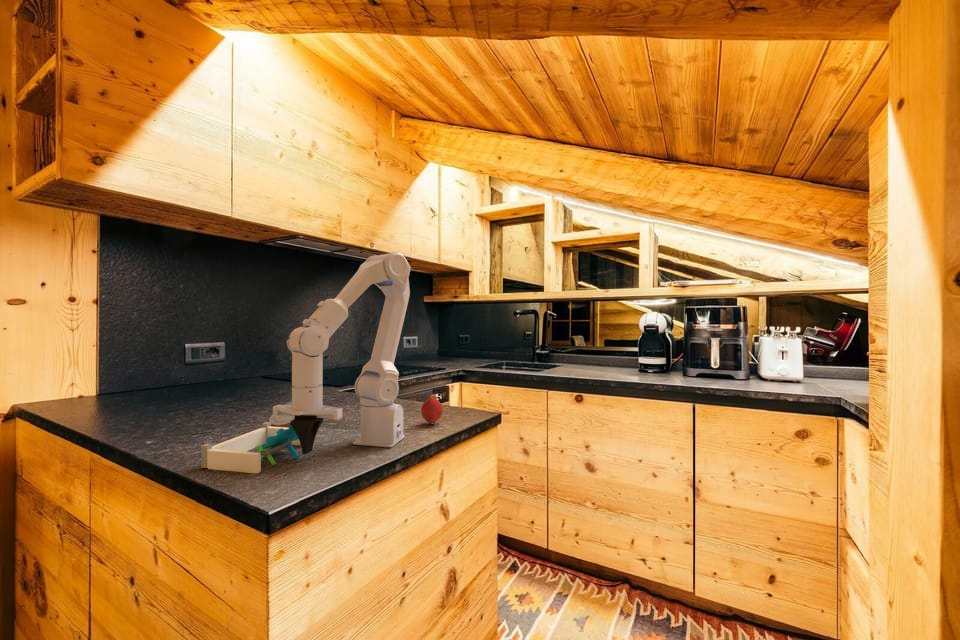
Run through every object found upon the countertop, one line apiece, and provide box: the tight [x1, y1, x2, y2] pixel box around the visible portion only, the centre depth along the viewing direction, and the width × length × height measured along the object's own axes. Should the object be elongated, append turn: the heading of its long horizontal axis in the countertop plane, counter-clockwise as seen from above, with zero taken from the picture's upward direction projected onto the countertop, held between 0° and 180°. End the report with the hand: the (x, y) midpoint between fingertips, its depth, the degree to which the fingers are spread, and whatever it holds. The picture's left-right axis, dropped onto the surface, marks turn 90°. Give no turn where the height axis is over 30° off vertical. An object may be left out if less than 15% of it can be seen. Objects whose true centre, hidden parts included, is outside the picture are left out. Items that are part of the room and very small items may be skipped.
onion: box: [420, 394, 444, 424], centre depth 109 cm, size 6×6×8 cm
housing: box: [200, 421, 301, 475], centre depth 84 cm, size 12×17×4 cm
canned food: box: [268, 400, 295, 428], centre depth 102 cm, size 11×10×10 cm
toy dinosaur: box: [254, 424, 300, 467], centre depth 82 cm, size 11×6×10 cm
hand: (307, 452), depth 82 cm, fingers closed
